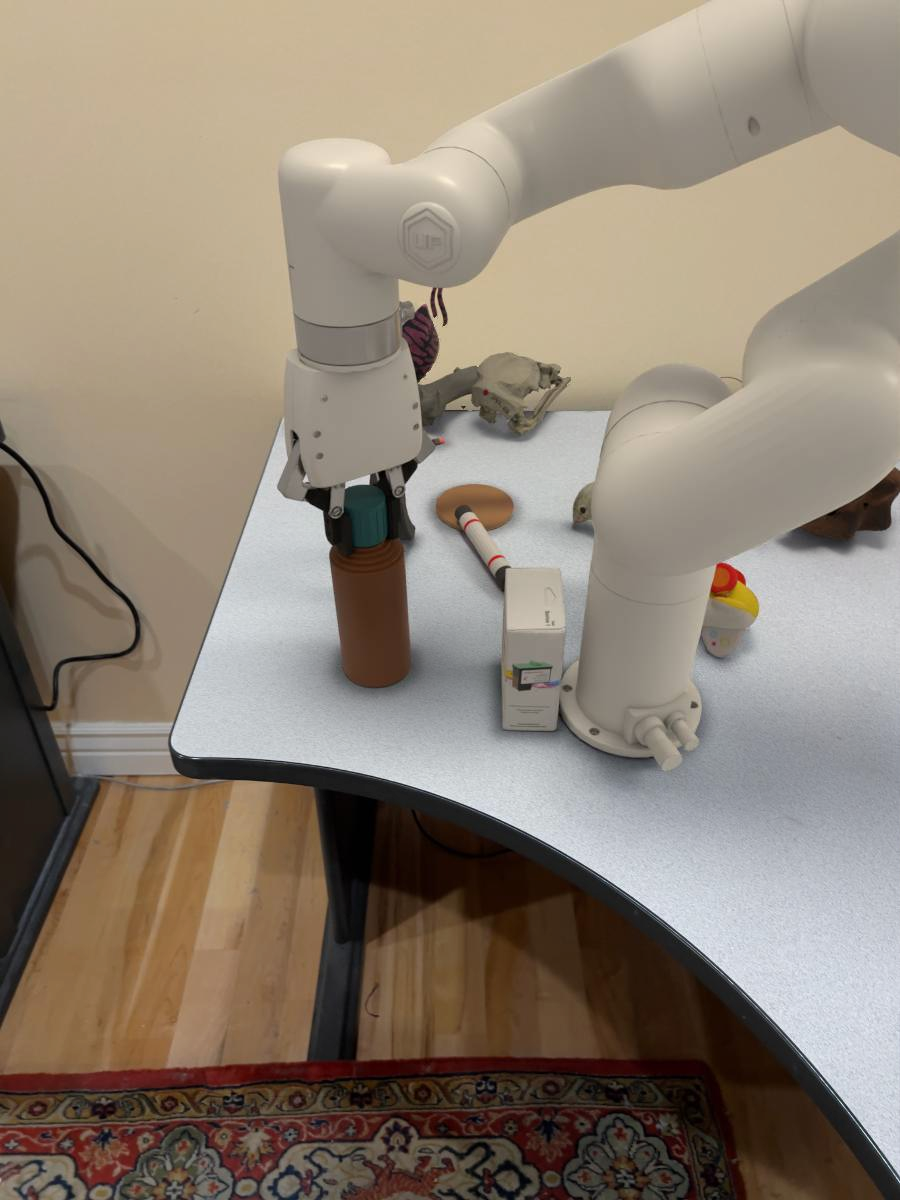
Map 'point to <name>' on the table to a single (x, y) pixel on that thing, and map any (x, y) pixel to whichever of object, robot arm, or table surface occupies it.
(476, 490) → the coaster
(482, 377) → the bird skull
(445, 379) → the bone
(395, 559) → the bottle
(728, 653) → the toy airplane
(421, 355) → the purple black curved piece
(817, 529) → the decorative turtle
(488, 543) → the marker
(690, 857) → the table surface
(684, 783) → the table surface
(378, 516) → the cap
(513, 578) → the ink box
